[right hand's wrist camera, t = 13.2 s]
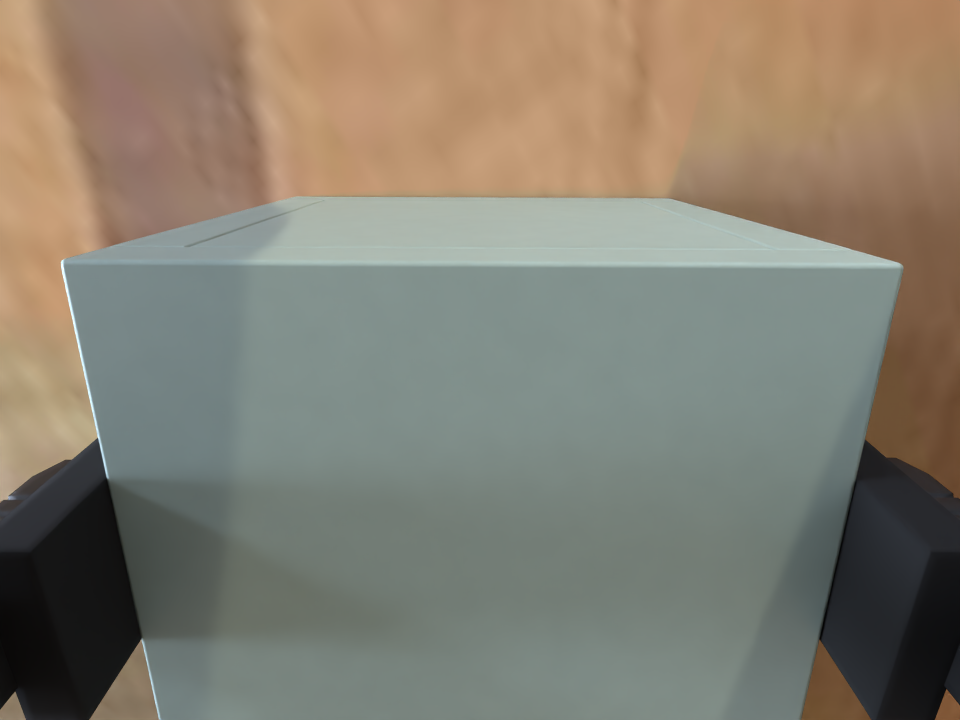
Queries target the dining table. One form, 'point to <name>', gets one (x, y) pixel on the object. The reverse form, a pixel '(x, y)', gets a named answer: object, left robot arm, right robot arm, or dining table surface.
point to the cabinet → (480, 455)
